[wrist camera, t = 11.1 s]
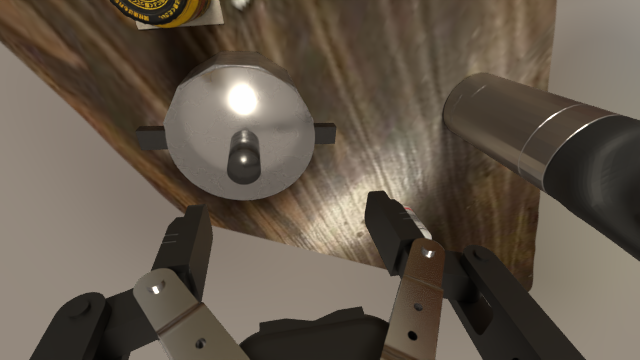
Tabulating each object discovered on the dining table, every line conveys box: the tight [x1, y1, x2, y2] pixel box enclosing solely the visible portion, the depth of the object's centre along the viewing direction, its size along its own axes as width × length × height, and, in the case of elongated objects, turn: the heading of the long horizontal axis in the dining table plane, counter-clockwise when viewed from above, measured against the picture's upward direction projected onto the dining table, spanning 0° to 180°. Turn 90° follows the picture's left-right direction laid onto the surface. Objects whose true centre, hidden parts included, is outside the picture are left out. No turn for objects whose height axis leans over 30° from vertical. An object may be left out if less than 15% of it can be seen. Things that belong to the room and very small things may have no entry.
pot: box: [136, 51, 336, 150], centre depth 32 cm, size 20×14×8 cm
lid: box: [165, 66, 315, 200], centre depth 26 cm, size 14×14×8 cm
